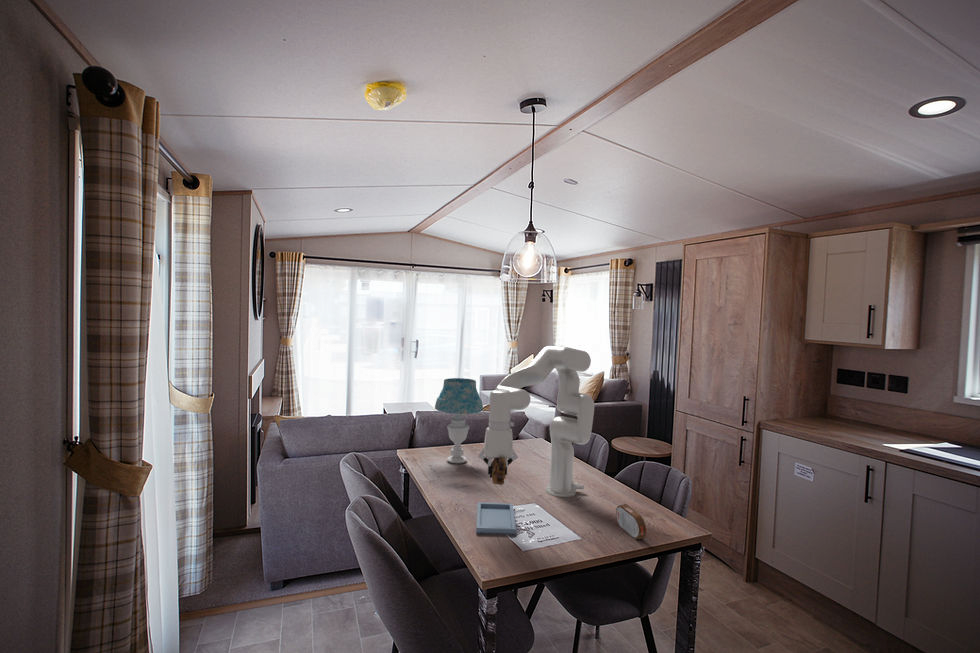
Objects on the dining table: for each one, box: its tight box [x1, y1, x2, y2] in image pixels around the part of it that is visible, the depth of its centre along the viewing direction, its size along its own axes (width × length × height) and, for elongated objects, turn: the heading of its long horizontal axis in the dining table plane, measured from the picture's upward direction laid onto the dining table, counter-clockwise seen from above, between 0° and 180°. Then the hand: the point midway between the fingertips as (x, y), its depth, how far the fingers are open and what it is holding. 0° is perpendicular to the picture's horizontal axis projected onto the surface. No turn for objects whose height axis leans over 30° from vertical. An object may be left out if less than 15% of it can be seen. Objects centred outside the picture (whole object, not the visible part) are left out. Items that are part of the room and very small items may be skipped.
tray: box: [475, 501, 517, 536], centre depth 165 cm, size 13×21×2 cm, turn 0°
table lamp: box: [434, 377, 484, 464], centre depth 230 cm, size 24×24×40 cm
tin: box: [615, 503, 647, 540], centre depth 159 cm, size 15×3×8 cm, turn 16°
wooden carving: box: [491, 457, 507, 486], centre depth 164 cm, size 16×5×10 cm, turn 13°
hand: (497, 476), depth 165 cm, fingers closed on wooden carving, 4 cm apart
